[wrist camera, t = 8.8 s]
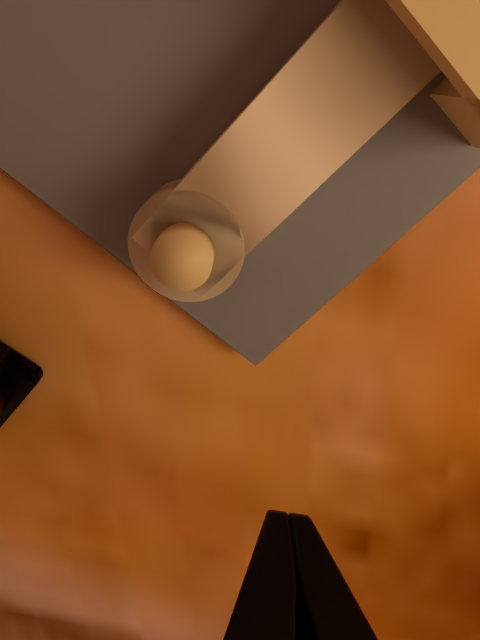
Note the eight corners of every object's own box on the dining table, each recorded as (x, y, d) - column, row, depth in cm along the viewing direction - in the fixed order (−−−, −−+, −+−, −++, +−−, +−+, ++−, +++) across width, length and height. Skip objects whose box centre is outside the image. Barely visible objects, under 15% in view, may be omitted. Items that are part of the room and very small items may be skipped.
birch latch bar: (197, 298, 18) (191, 322, 17) (120, 231, 17) (104, 249, 15) (651, -133, 12) (719, -169, 10) (579, -294, 11) (643, -367, 9)
